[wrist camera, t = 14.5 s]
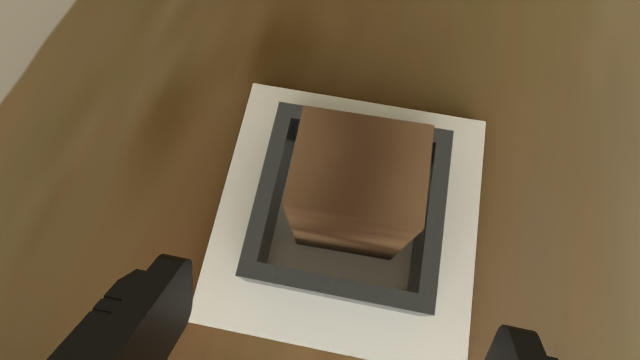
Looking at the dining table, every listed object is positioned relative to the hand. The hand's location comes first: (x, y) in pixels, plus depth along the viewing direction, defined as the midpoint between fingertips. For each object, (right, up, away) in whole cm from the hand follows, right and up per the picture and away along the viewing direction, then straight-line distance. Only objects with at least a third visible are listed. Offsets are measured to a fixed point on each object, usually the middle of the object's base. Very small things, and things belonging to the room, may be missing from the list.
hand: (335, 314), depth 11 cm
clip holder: (+1, +1, +13) cm, 14 cm away
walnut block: (+1, +2, +12) cm, 12 cm away
